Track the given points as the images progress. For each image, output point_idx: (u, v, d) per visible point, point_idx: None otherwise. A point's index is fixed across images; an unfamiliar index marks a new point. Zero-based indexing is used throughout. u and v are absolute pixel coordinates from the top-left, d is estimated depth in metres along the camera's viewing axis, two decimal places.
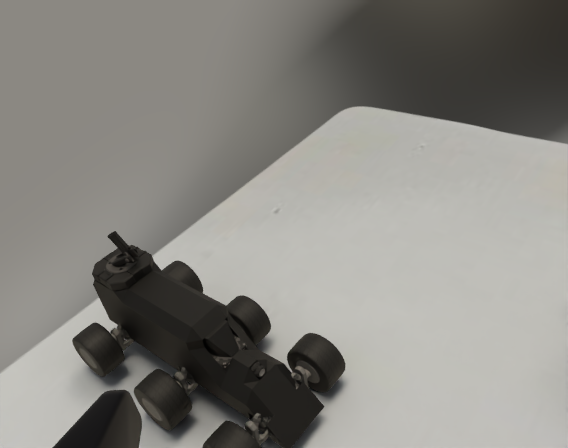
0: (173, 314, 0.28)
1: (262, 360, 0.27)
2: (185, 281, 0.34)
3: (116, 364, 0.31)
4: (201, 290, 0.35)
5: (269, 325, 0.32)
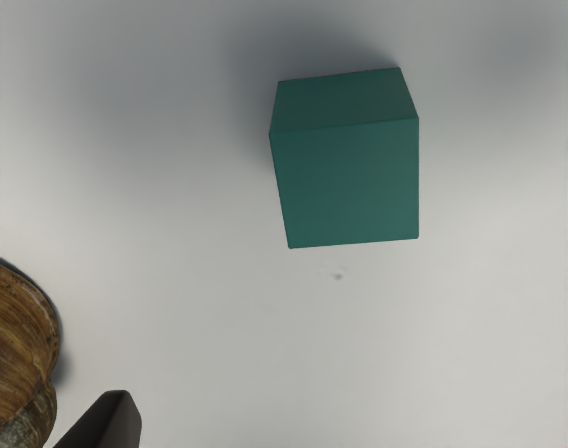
0: None
1: None
2: None
3: None
4: None
5: None
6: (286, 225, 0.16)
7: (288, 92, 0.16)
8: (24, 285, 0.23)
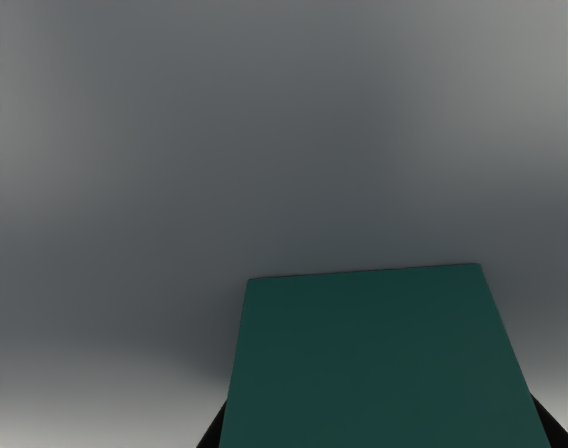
0: None
1: None
2: None
3: None
4: None
5: None
6: None
7: (264, 324, 0.08)
8: None
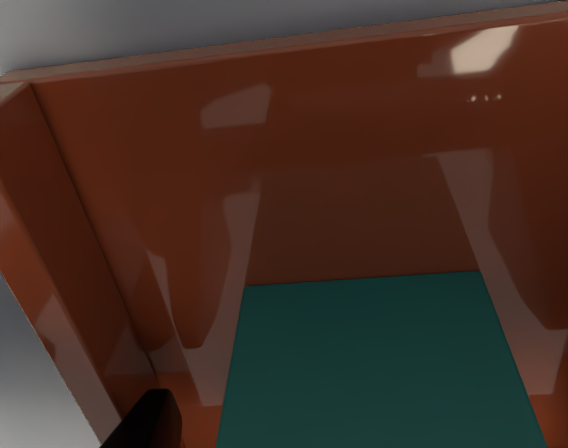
0: None
1: None
2: None
3: None
4: None
5: None
6: None
7: (260, 332, 0.08)
8: None
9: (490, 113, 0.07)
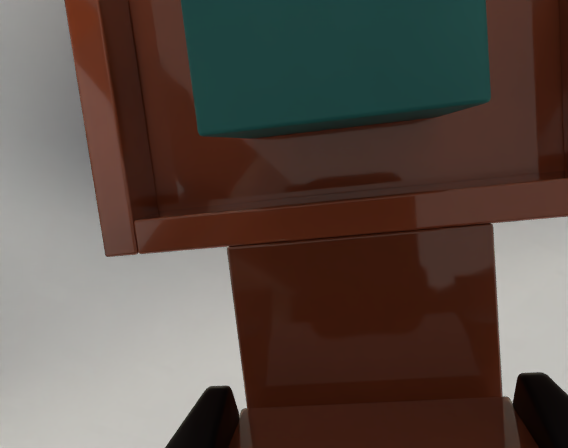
0: None
1: None
2: None
3: None
4: None
5: None
6: (193, 69, 0.07)
7: None
8: None
9: None
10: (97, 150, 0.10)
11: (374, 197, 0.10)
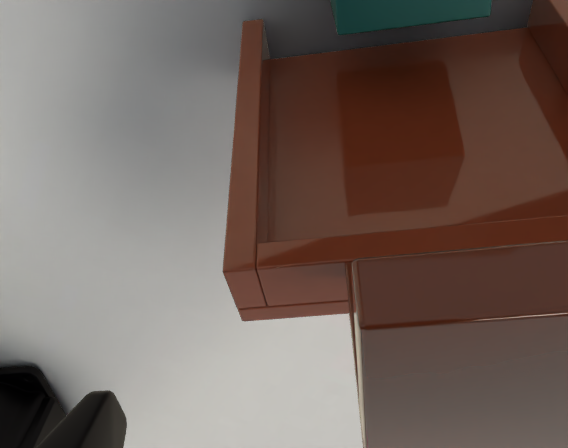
0: None
1: None
2: None
3: None
4: None
5: None
6: None
7: None
8: None
9: (459, 55, 0.17)
10: (236, 195, 0.12)
11: (484, 222, 0.11)
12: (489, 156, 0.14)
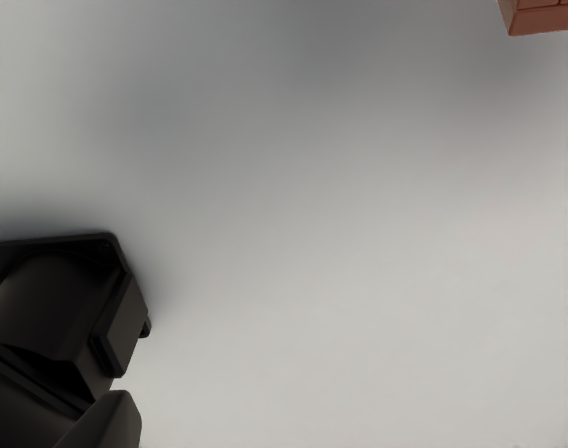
0: None
1: None
2: None
3: None
4: None
5: None
6: None
7: None
8: None
9: None
10: None
11: None
12: None
